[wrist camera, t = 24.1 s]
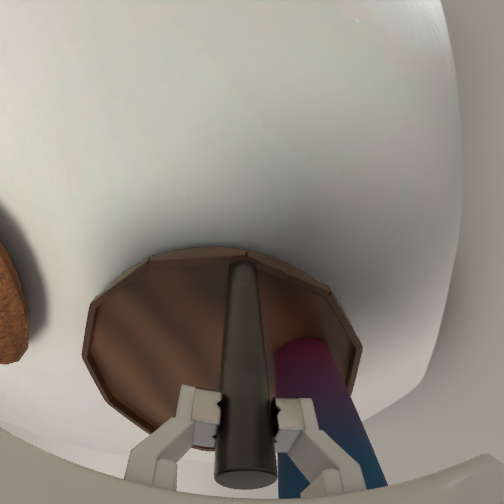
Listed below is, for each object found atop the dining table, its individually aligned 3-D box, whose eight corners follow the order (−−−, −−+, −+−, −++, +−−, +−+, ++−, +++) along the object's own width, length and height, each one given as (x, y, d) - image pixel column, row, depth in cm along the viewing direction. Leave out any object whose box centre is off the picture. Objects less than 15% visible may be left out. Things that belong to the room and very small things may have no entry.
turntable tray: (260, 177, 20) (318, 335, 5) (383, 382, 29) (434, 504, 14) (50, 331, 25) (-25, 449, 10) (202, 454, 34) (195, 556, 19)
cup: (350, 333, 24) (414, 484, 11) (322, 385, 27) (356, 521, 13) (277, 322, 23) (305, 503, 10) (255, 378, 26) (264, 530, 12)
